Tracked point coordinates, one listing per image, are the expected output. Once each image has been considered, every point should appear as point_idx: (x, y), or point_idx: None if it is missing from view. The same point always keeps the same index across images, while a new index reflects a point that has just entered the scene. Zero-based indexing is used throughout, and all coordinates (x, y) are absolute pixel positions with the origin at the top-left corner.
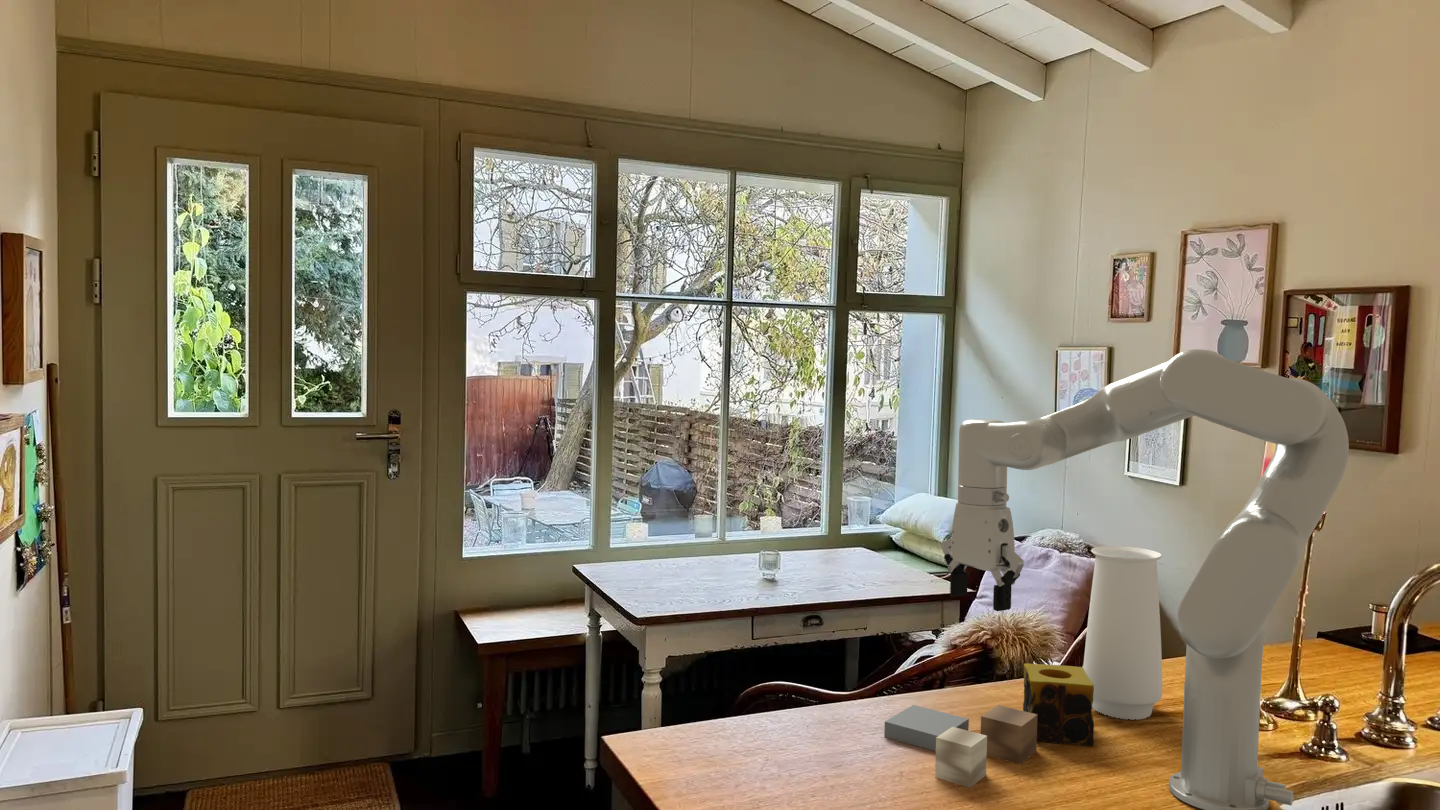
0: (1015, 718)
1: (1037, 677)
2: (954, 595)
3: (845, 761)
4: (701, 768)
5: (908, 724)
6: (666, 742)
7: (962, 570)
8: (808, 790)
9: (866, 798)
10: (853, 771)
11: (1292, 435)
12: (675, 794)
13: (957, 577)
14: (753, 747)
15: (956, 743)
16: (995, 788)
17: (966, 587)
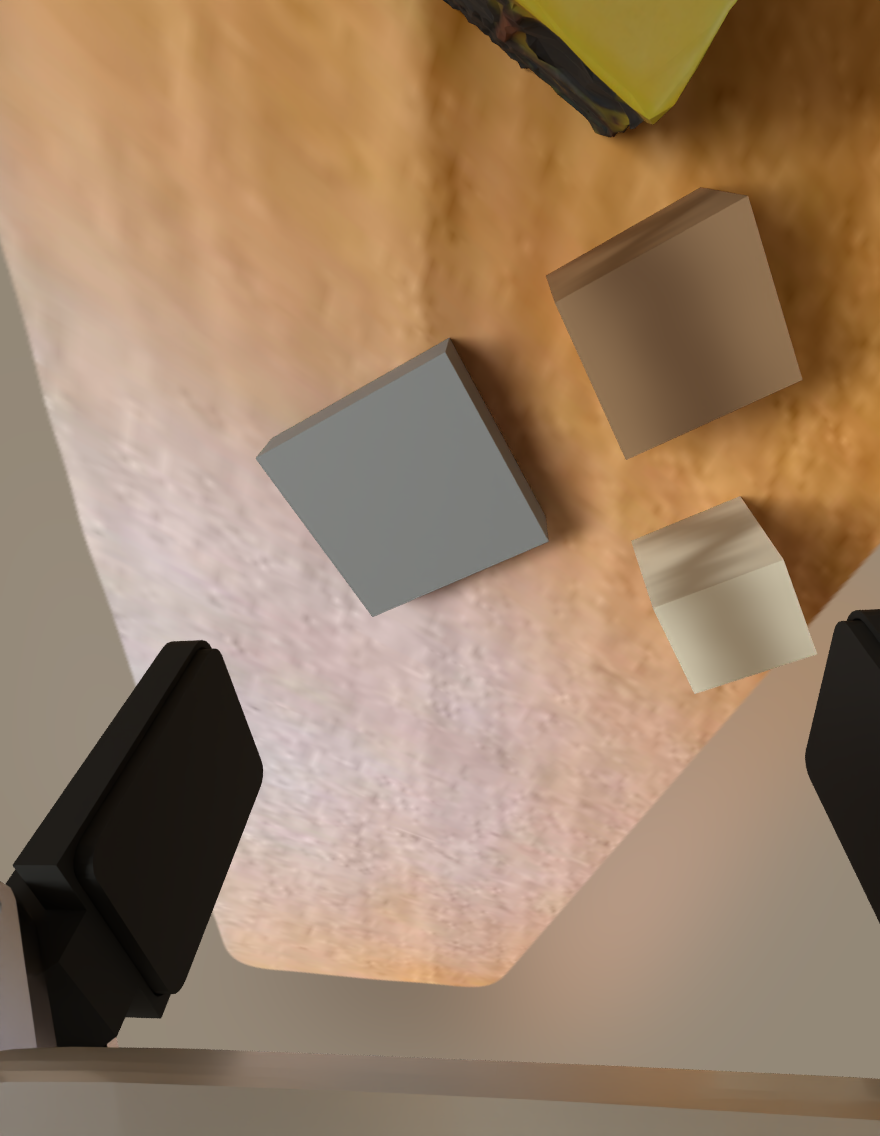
0: (724, 342)
1: (626, 11)
2: (258, 777)
3: (487, 734)
4: (412, 920)
5: (419, 572)
6: (280, 921)
7: (79, 950)
8: (580, 840)
9: (671, 783)
10: (543, 745)
11: None
12: (493, 969)
13: (178, 928)
14: (347, 834)
15: (763, 670)
16: (819, 527)
17: (184, 710)
